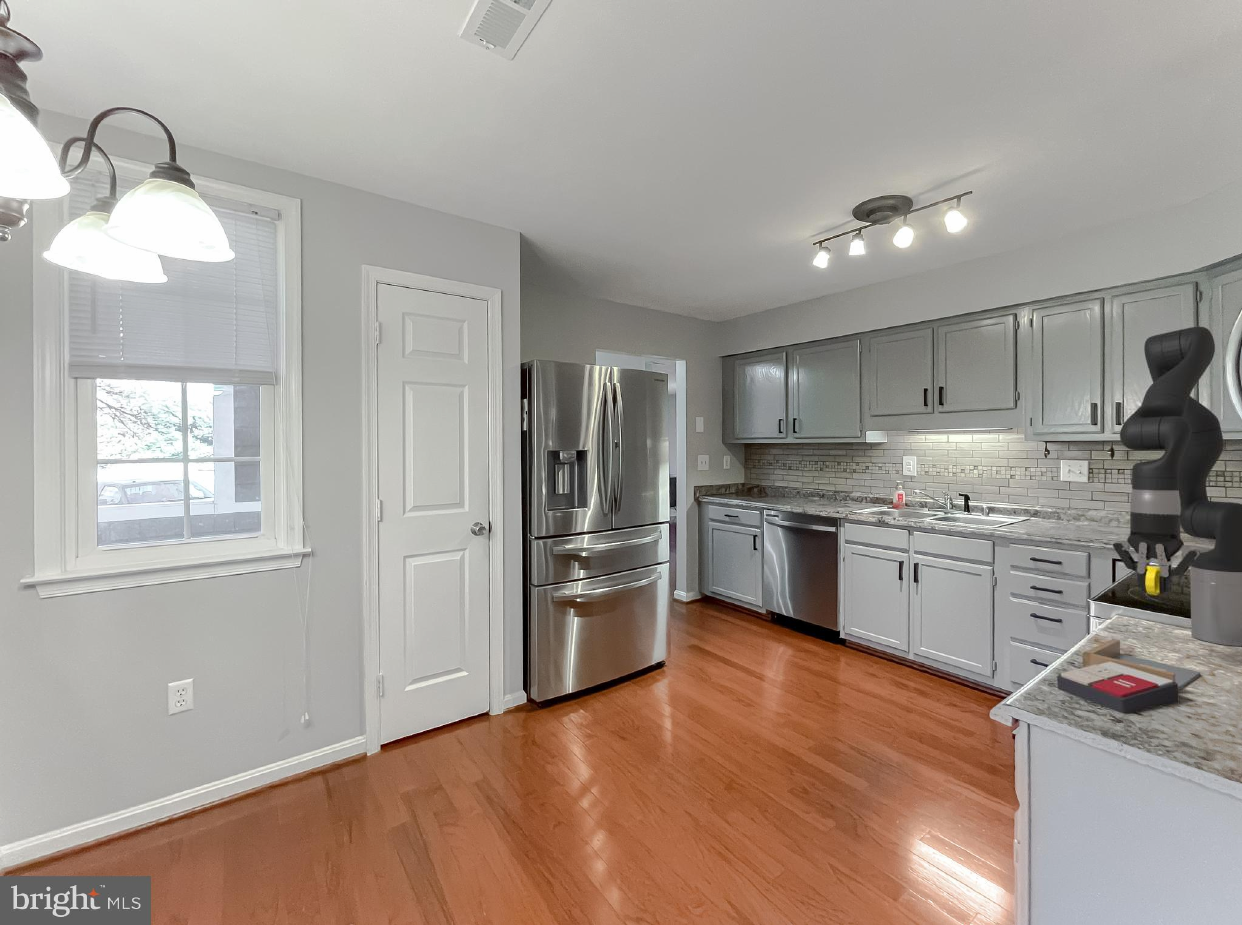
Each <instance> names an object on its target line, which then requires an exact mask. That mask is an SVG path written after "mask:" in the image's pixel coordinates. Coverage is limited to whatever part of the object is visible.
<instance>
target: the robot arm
mask: <svg viewBox="0 0 1242 925" xmlns="http://www.w3.org/2000/svg"><path fill="white" fill-rule="evenodd" d="M1143 350H1144V357H1145V358H1144V359H1145V361H1146V364H1147V369H1148V371H1149V374H1150V377H1151V381H1152V384H1151V385H1150V386H1149V387H1148V388H1147V390H1146V392H1145V393H1144V397H1143V399H1142V402H1141V405H1140V406H1139V407H1138V408H1137V409H1136V410H1135V411H1134V412H1133V413H1131V415H1130V416H1129V417H1128V418H1127V419H1126V420H1125V421H1124V423H1123V425H1122V426H1121V429H1120V432H1119V439H1120V442H1121V443H1122V445H1123V446H1124V447H1125V448H1127V449H1128V450H1132V451H1164V452H1163V455H1162V456H1161V457H1159V458H1157V459H1154V460H1153V459H1152V460H1146V461H1141V462H1136V463H1134V464H1133V466H1132V468H1131V494H1130V506H1129V509H1130V511H1129V516H1130V518H1129V521H1130V522H1129V523H1130V524H1129V525H1130V526H1129V527H1130V528H1129V531H1130V532H1129V536H1128V537H1127V539H1126V540H1124V541H1120V542H1114V543H1113V544H1112V547H1113V548H1114V550H1115V553H1116V554H1118V556H1119V558H1120V559H1121V561H1122V563H1123V564H1124V566H1125V568H1126V569H1128V570H1131V571H1134V572H1136V574H1137V586H1138V589H1141V592H1146V593H1147V590H1146V584H1145V580H1146V573H1147V570H1148V569H1146V565H1150V564H1151V562H1152V559H1155V560H1157V562H1158V566H1160V572H1161V576H1160V577H1159V593H1160V594H1159V595H1161V596H1163V595H1164V596H1165V595H1167V594H1168V593H1170V592H1172V590H1173V589H1172V583H1173V582H1172V581H1173V580H1172V579H1173V577H1176V576H1181V575H1185V574H1186V572H1187V571H1188V569H1190V570H1189V572H1190V575H1189V576H1190V577H1189V578H1190V624H1191V625H1190V626H1191V627H1190V632H1191V634H1190V635H1191V637H1193V638H1195V639H1198V640H1201V641H1204V642H1208V643H1212V644H1213V643H1214V644H1217V645H1222V646H1223V645H1224V646H1233V647H1242V503H1240V502H1234V501H1233V502H1229V501H1215V500H1209V497H1208V493H1207V480H1208V477H1209V474H1210V473H1211V471H1212V469H1214V466H1215V465H1216V463H1217V462H1218V460H1219V459H1220V457H1221V455H1222V454H1223V451H1224V449H1225V448H1224V446H1225V441H1224V436H1223V432H1222V427H1221V423H1220V420H1219V418H1218V417H1217V415H1215V413H1213V412H1212V411H1211V410H1210V409H1209V408H1207V407H1206V406H1205V405H1204V404H1202V402H1201V403H1200V402H1199V401H1198V400H1197V399H1195V398H1194V397H1192V396H1191V394H1192V392H1193V390H1194V388H1195V386H1196V385H1197V383H1198V382H1199V380H1201V378H1202V376H1203V375H1204V374H1205V372H1206V370H1207V368H1209V365H1210V364H1211V363H1212V361H1213V358H1214V356H1215V352H1216V344H1215V339H1214V336H1213V334H1212V332H1211V331H1210V330H1209V328H1207V327H1205V326H1192V327H1187V328H1183V329H1177V330H1174V331H1167V332H1165V333H1164V332H1163V333H1159V334H1155V335H1151V336H1149V337H1148V338H1146V340H1145V342H1144V348H1143ZM1181 529H1182V530H1183V532H1184V533H1185V534H1187V535H1188V536H1190V537H1193V538H1198V539H1204V540H1212V541H1213V540H1215V543H1214V547H1213V548H1212V549H1211V550H1208V551H1203V552H1200V551H1199V549H1192V548H1191V547H1188V546H1186V545H1185V544H1184V541H1183V540H1182V538H1181ZM1130 547H1132V549H1133V551H1135V552H1136V553H1137V554H1138V555H1137V562H1136V560H1135V559H1134V557H1133V556H1132V554H1131V553H1130V550H1131V548H1130ZM1179 551H1181V554H1180V555H1181V557H1182V559H1181V561H1180V562H1179V563H1178V564H1177V565H1176V567H1175V568H1173V559H1172V557H1174V556H1175V555H1176V554H1177V553H1179Z"/></svg>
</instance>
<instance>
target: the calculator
mask: <svg viewBox="0 0 1242 925" xmlns="http://www.w3.org/2000/svg"><path fill="white" fill-rule="evenodd" d="M1056 678H1057V680H1056V681H1057V690H1059V691H1062V692H1064V693H1068V694H1070V695H1073V696H1075V697H1077V698H1080V699H1083V700H1086V701H1088V702H1091V703H1093V704H1096V705H1100V706H1101V707H1104V708H1107V709H1109V710H1112V711H1114V712H1118V713H1120V714H1123V715H1124V714H1125V715H1126V714H1131V713H1135V712H1139V711H1142V710H1147V709H1151V708H1154V707H1156V706H1157V707H1158V706H1160V705H1169V704H1173V703H1177V702H1179V690H1178V684H1177V683H1176V682H1173V681H1172V680H1169V679H1166V678H1163V677H1159V676H1156V675H1153V674H1149V673H1146V672H1143V671H1139V670H1136V669H1133V668H1130V667H1126V666H1123V665H1120V664H1116V663H1113V662H1106V663H1103V664H1099V665H1091V666H1088V667H1084V668H1083V667H1081V668H1079V669H1078V668H1077V669H1074V670H1073V669H1072V670H1069V671H1065V672H1062V673H1061V674H1060V675H1057V676H1056Z"/></svg>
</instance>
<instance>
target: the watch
mask: <svg viewBox="0 0 1242 925" xmlns="http://www.w3.org/2000/svg"><path fill="white" fill-rule="evenodd" d="M1146 569H1148V570H1147V573H1146V580H1145V584H1146V590H1147V592H1146V593H1147V594H1148V595H1153V596H1158V595H1161V594H1160V593H1159V577H1160V576H1161V572H1160V566H1159V565H1146Z"/></svg>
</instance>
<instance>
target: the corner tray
mask: <svg viewBox="0 0 1242 925" xmlns="http://www.w3.org/2000/svg"><path fill="white" fill-rule="evenodd" d="M1106 662H1113V663H1116V664H1120V665H1123V666H1126V667H1130V668H1133V669H1136V670H1139V671H1143V672H1146V673H1149V674H1153V675H1156V676H1159V677H1163V678H1166V679H1169V680H1172V681H1173V682H1176V683H1177V684H1178V691H1180V690H1181V689H1183V688H1184V687H1186V685H1188V684H1190V683H1191V682H1192V681H1194V680H1195V679H1197V678H1198V677H1200V676H1201V672H1200V671H1198V670H1193V669H1190V668H1189V669H1188V668H1184V667H1180V666H1175V665H1172V664H1168V663H1167V664H1166V663H1162V662H1157V661H1155V660H1149V659H1145V658H1142V657H1138V656H1137V657H1136V656H1131V655H1128V654H1123V653H1121V640H1120V639H1117V638H1111V639H1109V640H1107V641H1105V642H1103V643H1101V644H1098V645H1096V646H1095V647H1092V648H1090V649H1088V650H1085V651H1083V652H1082V668H1084V667H1088V666H1091V665H1099V664H1103V663H1106Z"/></svg>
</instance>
